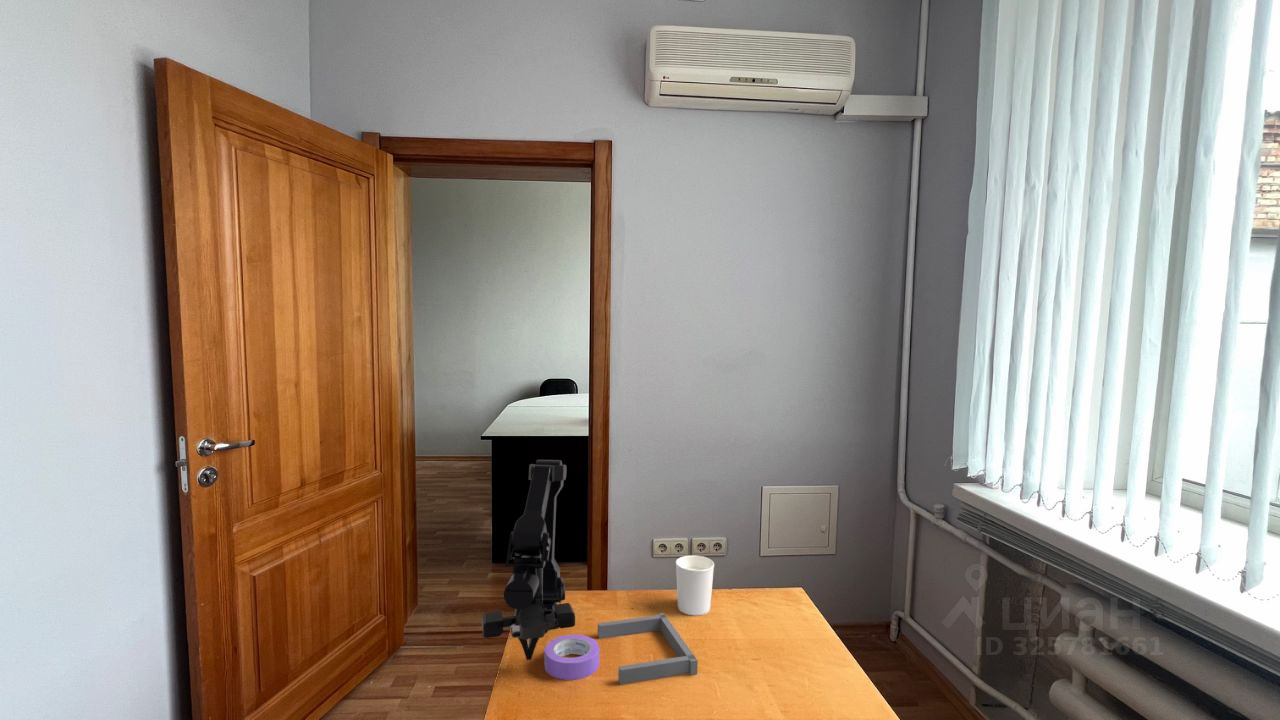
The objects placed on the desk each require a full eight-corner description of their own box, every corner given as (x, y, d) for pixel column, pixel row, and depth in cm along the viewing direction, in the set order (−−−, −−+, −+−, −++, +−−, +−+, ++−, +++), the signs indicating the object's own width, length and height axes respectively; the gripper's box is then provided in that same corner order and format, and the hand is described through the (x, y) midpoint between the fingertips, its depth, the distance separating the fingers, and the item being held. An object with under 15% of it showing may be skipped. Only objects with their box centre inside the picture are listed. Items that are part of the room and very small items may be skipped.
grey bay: (597, 634, 144) (597, 621, 144) (663, 624, 149) (663, 613, 149) (621, 686, 124) (621, 672, 124) (697, 674, 129) (697, 660, 129)
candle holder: (711, 619, 153) (712, 572, 152) (672, 614, 154) (673, 568, 154) (714, 601, 162) (715, 557, 161) (677, 597, 164) (678, 553, 163)
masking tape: (536, 658, 134) (536, 641, 134) (585, 645, 140) (585, 629, 140) (556, 687, 124) (556, 668, 124) (608, 671, 130) (608, 654, 129)
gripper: (484, 609, 117) (484, 688, 119) (580, 598, 123) (579, 673, 124) (482, 585, 128) (482, 657, 129) (570, 576, 134) (570, 645, 135)
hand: (528, 659), depth 129 cm, fingers closed
